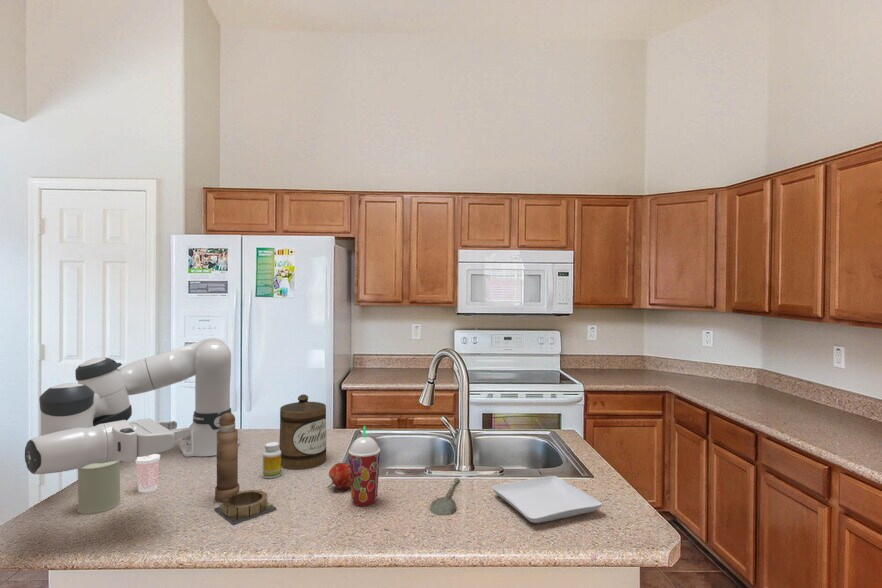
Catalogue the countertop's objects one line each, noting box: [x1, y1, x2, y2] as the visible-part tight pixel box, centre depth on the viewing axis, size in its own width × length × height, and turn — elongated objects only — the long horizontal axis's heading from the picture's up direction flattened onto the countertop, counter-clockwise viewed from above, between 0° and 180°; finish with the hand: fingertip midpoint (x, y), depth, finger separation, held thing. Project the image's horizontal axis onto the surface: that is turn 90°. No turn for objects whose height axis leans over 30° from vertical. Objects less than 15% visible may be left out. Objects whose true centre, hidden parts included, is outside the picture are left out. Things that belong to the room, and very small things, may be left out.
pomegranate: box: [327, 462, 351, 491], centre depth 137 cm, size 7×7×10 cm
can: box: [77, 461, 122, 515], centre depth 125 cm, size 9×9×12 cm
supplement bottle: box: [262, 441, 282, 479], centre depth 146 cm, size 5×5×10 cm
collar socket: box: [214, 489, 277, 526], centre depth 123 cm, size 11×11×3 cm
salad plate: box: [491, 475, 603, 524], centre depth 126 cm, size 21×21×3 cm
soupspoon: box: [429, 477, 461, 516], centre depth 130 cm, size 22×3×7 cm
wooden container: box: [278, 394, 327, 470], centre depth 158 cm, size 15×15×22 cm
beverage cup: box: [134, 453, 161, 493], centre depth 136 cm, size 6×6×14 cm
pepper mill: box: [214, 413, 240, 503], centre depth 130 cm, size 6×6×23 cm
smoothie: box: [348, 425, 381, 507], centre depth 128 cm, size 8×8×20 cm
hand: (182, 427), depth 122 cm, fingers open, 8 cm apart
